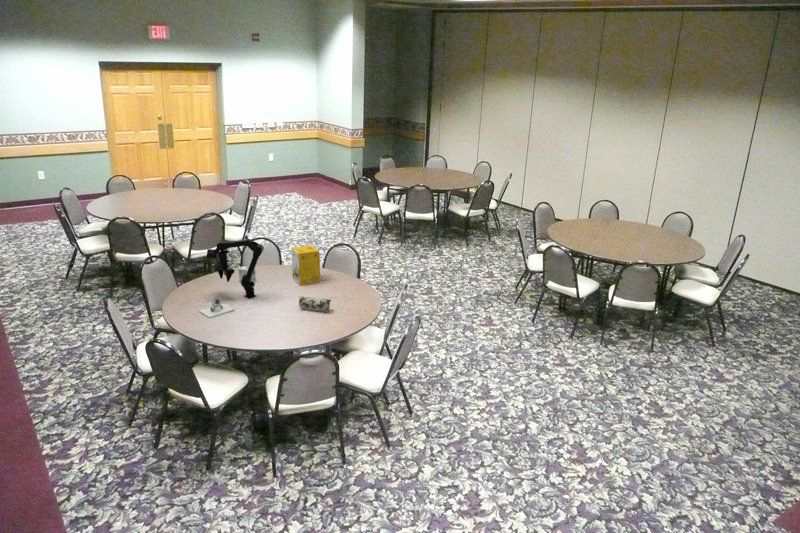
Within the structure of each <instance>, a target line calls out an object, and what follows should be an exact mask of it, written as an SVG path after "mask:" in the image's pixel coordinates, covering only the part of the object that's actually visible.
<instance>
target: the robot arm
mask: <svg viewBox="0 0 800 533" xmlns="http://www.w3.org/2000/svg"><path fill="white" fill-rule="evenodd" d="M238 247H240V248H241V247H248V249H250V250H251V252H252V258H251V261H250V263H249V266H248V267H249V269H248V271H247V274H244V276H243V277H242V280H241V282H240V285H241V287H243V289H244V291H245V294H244V295H243V296H244V297H245V298H247V299H249V300H250V299H253V298H255V297H257V295H256V294H255V288H254V287H255V285H256V283H255V281H254V282H253V281H252V274H253V272H254V269H255V270H256V267H257V266H256V265H257V264H258V260H259V258H260V256H261V255H262V254H263V252H264V250H265V247H264V245H262V244H259V243H258V242H256V241H255V240H252V239H250V238H247V239H239V240H231V241H229V240H220V241H219V242H218V243H217V244H216V248H215V249H212V248H209V249H207V250H206V251H207V252H206V259H207V260H216V263H214V264H213V265H211V266H210V268H211V270H212V272H215V273H216V272H217V273H218V276H219V277H220V279H223V277H224V275H225V278H226V282H227V283H229V282H230V281H231V278H232V276H233V274H235V269H234V268H232V267H230V265H228V262H229V260H228V254H229V253H230V250H229V249H231V248H238ZM217 258H218V260H217Z"/></svg>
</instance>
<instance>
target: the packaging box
mask: <svg viewBox="0 0 800 533" xmlns="http://www.w3.org/2000/svg"><path fill="white" fill-rule="evenodd" d="M290 251H291V252H290V253H291V266H292V267H291V269H292V270H291V272H292V274H291V275H292V280H293V281H294V282H295V283H296V284H297V285H298V286H300V287H301V286H306V285H313V284H320V283H321V266H320V265H321V264H320V261H321V260H320V259H321V258H320V251H319V249H317V248H316V247H315V246H313V245H303V246H297V247H291V249H290Z"/></svg>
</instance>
